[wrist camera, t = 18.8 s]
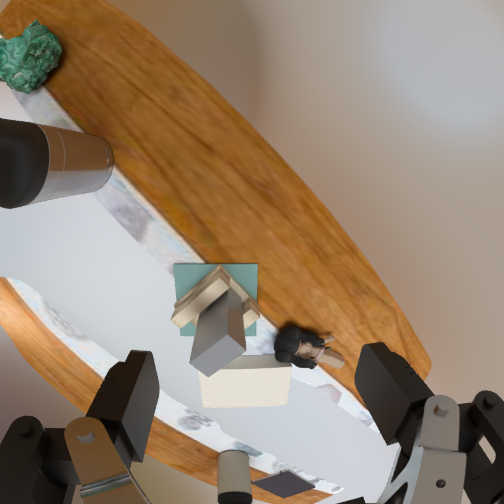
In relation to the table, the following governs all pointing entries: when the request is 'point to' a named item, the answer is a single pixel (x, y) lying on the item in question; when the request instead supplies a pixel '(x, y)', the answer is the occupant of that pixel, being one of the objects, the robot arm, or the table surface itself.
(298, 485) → the notebook
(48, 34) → the mineral
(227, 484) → the travel mug
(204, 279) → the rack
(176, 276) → the mat
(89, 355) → the table surface
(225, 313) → the grey rectangular block
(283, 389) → the cream flat block
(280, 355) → the toy figure
